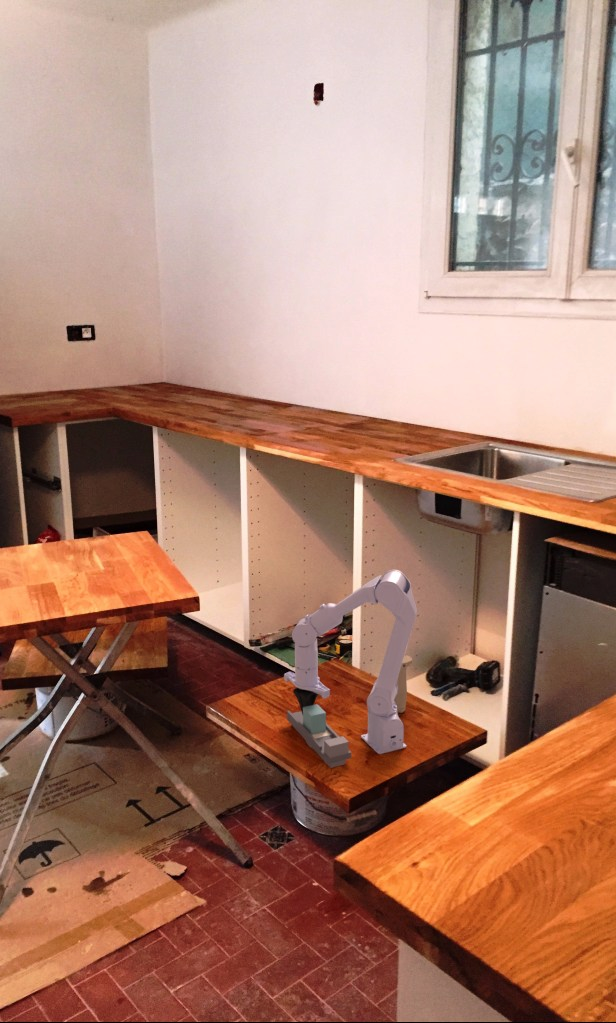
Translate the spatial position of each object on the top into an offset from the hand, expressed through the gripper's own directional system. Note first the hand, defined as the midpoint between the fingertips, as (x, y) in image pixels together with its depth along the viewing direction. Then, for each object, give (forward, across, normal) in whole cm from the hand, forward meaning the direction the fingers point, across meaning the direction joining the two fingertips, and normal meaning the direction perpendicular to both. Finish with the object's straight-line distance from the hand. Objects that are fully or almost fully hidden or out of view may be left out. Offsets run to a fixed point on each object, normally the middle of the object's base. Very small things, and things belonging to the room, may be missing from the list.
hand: (306, 714), depth 218 cm
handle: (+5, -10, -25) cm, 28 cm away
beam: (+5, -6, +2) cm, 8 cm away
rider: (+2, -4, +2) cm, 5 cm away
